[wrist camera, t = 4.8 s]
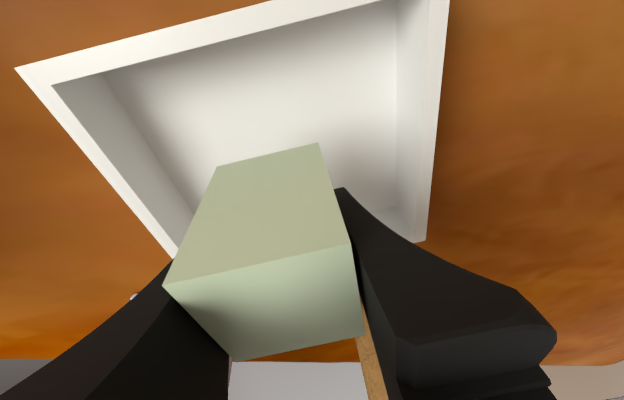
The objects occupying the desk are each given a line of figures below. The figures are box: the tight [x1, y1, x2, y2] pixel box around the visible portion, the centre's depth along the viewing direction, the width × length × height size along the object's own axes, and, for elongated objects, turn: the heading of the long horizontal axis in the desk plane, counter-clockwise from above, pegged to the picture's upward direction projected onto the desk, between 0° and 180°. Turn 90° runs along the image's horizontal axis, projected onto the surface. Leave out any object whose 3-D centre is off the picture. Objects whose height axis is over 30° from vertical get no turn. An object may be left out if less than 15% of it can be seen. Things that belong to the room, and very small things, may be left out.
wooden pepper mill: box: [355, 294, 389, 400], centre depth 19 cm, size 7×6×18 cm
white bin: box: [14, 0, 450, 259], centre depth 15 cm, size 15×17×4 cm
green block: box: [162, 142, 366, 362], centre depth 9 cm, size 4×4×6 cm
